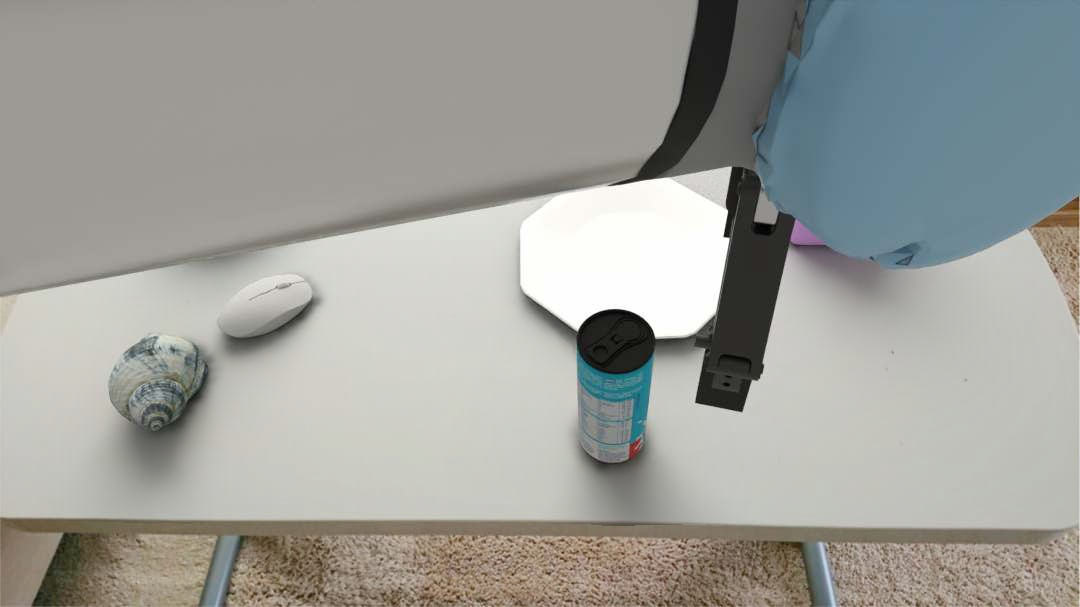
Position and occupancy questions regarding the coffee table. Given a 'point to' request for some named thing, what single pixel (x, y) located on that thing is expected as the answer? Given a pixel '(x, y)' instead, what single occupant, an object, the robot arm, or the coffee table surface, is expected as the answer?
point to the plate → (627, 255)
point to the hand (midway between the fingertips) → (732, 312)
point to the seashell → (156, 380)
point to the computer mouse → (264, 305)
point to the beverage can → (614, 383)
